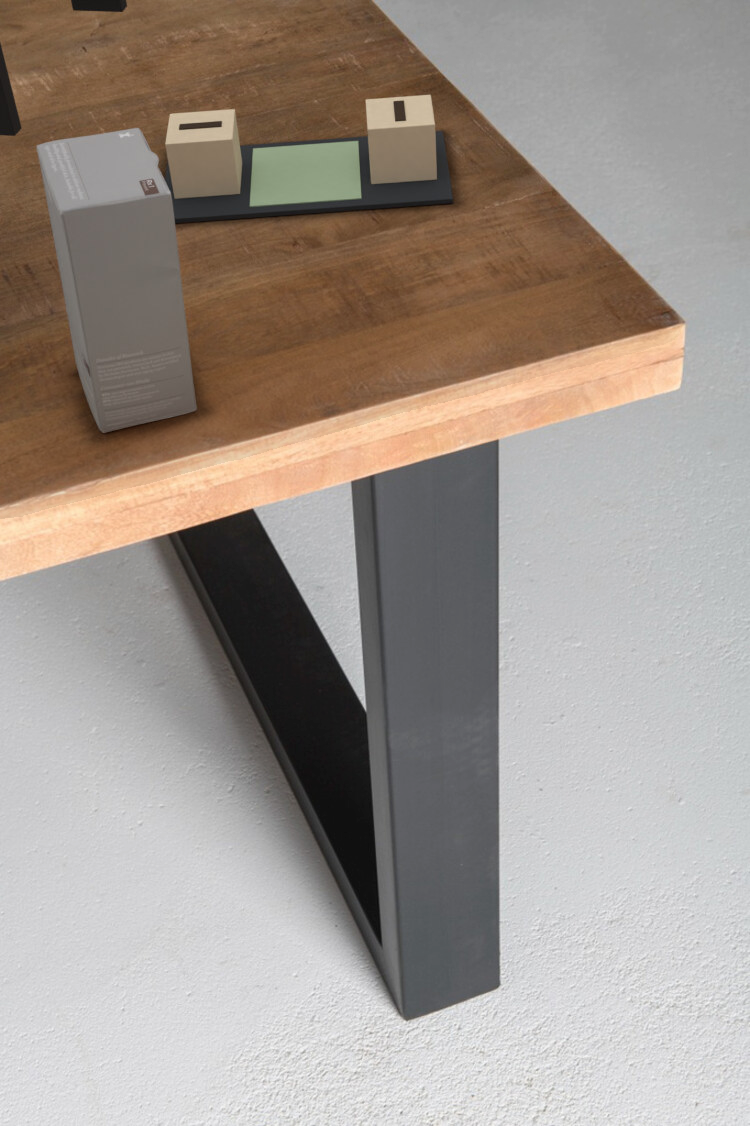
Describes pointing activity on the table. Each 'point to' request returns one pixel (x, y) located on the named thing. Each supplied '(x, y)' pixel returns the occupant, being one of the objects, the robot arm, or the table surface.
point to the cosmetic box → (120, 276)
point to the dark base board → (306, 166)
